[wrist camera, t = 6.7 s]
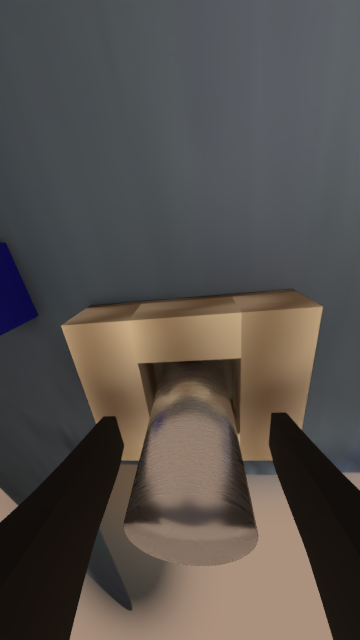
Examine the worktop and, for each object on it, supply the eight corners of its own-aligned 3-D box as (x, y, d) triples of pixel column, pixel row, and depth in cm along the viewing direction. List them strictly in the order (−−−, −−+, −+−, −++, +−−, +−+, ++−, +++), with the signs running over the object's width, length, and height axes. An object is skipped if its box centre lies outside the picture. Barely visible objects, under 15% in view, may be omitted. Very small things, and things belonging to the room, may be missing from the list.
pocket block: (292, 289, 11) (322, 306, 9) (278, 419, 15) (296, 460, 13) (89, 305, 13) (60, 325, 10) (123, 422, 16) (109, 460, 14)
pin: (224, 343, 12) (265, 500, 5) (222, 394, 14) (252, 570, 7) (160, 344, 13) (112, 492, 6) (165, 393, 14) (133, 560, 7)
